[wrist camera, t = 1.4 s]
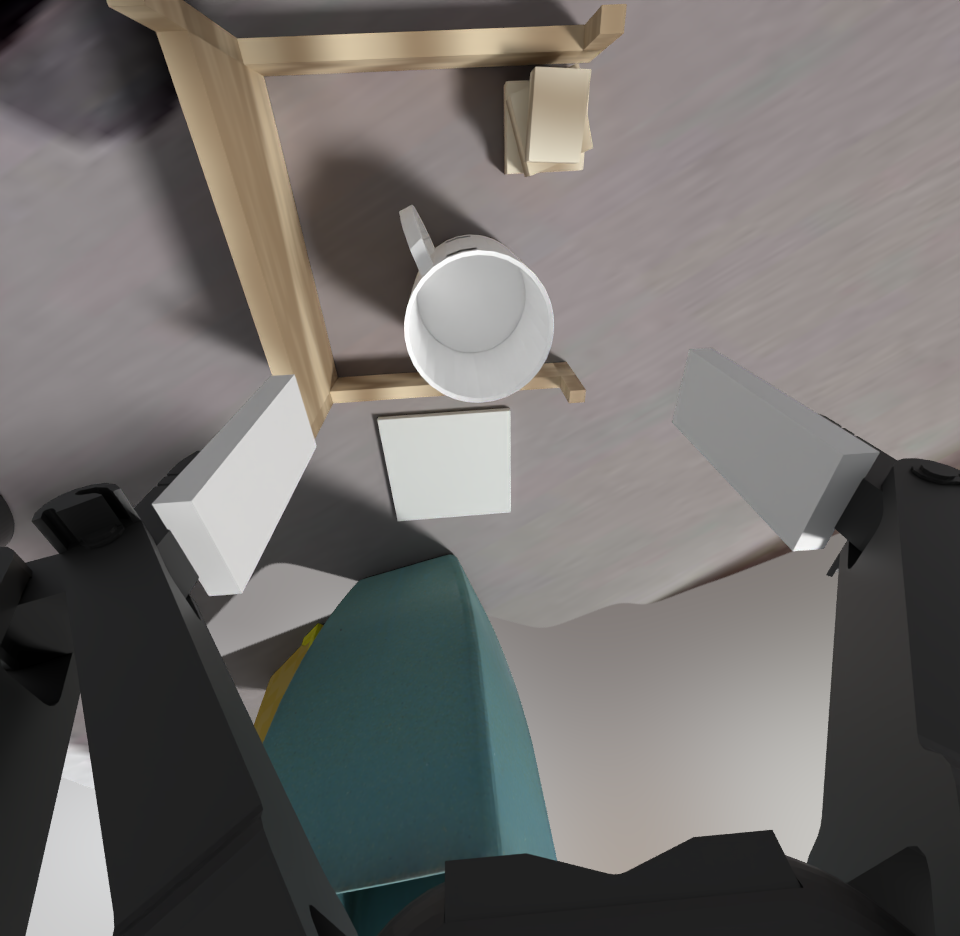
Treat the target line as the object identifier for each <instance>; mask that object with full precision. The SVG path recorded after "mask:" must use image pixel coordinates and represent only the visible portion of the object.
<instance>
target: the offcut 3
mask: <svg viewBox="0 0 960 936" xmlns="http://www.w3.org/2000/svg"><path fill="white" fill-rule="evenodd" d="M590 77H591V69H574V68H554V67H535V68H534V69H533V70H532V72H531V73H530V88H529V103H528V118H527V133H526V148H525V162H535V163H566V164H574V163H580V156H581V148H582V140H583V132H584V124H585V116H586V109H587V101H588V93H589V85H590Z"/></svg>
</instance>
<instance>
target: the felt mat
mask: <svg viewBox="0 0 960 936" xmlns="http://www.w3.org/2000/svg"><path fill="white" fill-rule="evenodd" d="M377 421H378V426H379V431H380V436H381V441H382V446H383V451H384V456H385V461H386V465H387V470H388V475H389V480H390V485H391V490H392V495H393V500H394V505H395V510H396V515H397V520H398V521H407V520H419V519H432V518H444V517H457V516H470V515H482V514H495V513H507V512H511V469H510V408H500V409H486V410H472V411H457V412H443V413H429V414H415V415H401V416H387V417H378V420H377Z"/></svg>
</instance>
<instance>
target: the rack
mask: <svg viewBox="0 0 960 936" xmlns="http://www.w3.org/2000/svg"><path fill="white" fill-rule="evenodd" d="M106 1H107V3H108V6H109V7H110V8H112V9H114V10H116V11H118V12H120V13H122V14H124V15H125V16H127V17H129V18H131V19H133V20H135V21H137V22H139V23H140V24H142V25H144V26H146V27H148V28H150V29H152V30H154V31H155V32H156V33H157V36H158V39H159V42H160V45H161V48H162V51H163V54H164V57H165V60H166V63H167V66H168V69H169V72H170V75H171V78H172V81H173V83H174V86H175V89H176V92H177V95H178V98H179V101H180V104H181V107H182V110H183V113H184V116H185V119H186V122H187V125H188V128H189V131H190V134H191V137H192V140H193V143H194V146H195V149H196V151H197V154H198V157H199V160H200V163H201V166H202V169H203V172H204V175H205V178H206V181H207V184H208V187H209V190H210V193H211V196H212V199H213V202H214V205H215V208H216V211H217V214H218V216H219V219H220V222H221V225H222V228H223V231H224V234H225V237H226V240H227V243H228V246H229V249H230V252H231V255H232V258H233V261H234V264H235V267H236V270H237V273H238V276H239V279H240V282H241V284H242V287H243V290H244V293H245V296H246V299H247V302H248V305H249V308H250V311H251V314H252V317H253V320H254V323H255V326H256V329H257V332H258V335H259V338H260V341H261V344H262V347H263V349H264V352H265V355H266V358H267V361H268V364H269V367H270V370H271V373H272V376H276V375H292V374H295V377H296V381H297V384H298V387H299V390H300V394H301V397H302V400H303V404H304V407H305V410H306V413H307V417H308V420H309V423H310V426H311V430H312V433H313V436H314V439H315V438H316V436H317V434H318V432H319V430H320V428H321V426H322V424H323V422H324V420H325V418H326V416H327V414H328V412H329V410H330V408H331V406H332V404H333V403H344V402H359V401H373V400H387V399H402V398H416V397H430V396H445V395H444V394H442V393H441V392H439V391H438V390H436V389H435V388H433V387H432V386H431V385H430V384H429V383H428V382H427V381H426V380H425V379H424V378H423V377H422V376H421V375H420V374H419V372H411V373H396V374H381V375H366V376H352V377H338V376H337V372H336V368H335V363H334V359H333V355H332V351H331V347H330V343H329V339H328V335H327V331H326V327H325V323H324V319H323V315H322V311H321V307H320V303H319V299H318V294H317V290H316V286H315V282H314V278H313V274H312V270H311V266H310V262H309V258H308V254H307V250H306V246H305V242H304V238H303V234H302V230H301V226H300V221H299V217H298V213H297V209H296V205H295V201H294V197H293V193H292V189H291V185H290V181H289V177H288V173H287V169H286V165H285V161H284V157H283V152H282V148H281V144H280V140H279V136H278V132H277V128H276V124H275V120H274V116H273V112H272V108H271V104H270V100H269V96H268V92H267V88H266V84H265V79H264V76H285V75H308V74H331V73H355V72H378V71H402V70H425V69H449V68H472V67H495V66H519V65H542V64H566V63H589V62H590V61H591V60H593V59H594V58H595V57H596V56H597V55H599V54H600V53H601V52H602V51H603V50H604V49H606V48H607V47H608V46H609V45H610V44H612V43H613V42H614V41H615V40H616V39H617V38H619V37H620V36H621V35H622V34H623V33H624V25H625V16H626V6H627V4H616V5H602V6H601V7H600V8H599V9H598V10H597V11H596V13H595V14H594V15H593V16H592V17H591V18H590V19H589V21H588V22H587V23H586V24H585V25H565V26H539V27H514V28H489V29H464V30H438V31H413V32H388V33H362V34H337V35H312V36H286V37H261V38H236V37H234V36H233V35H232V34H230V33H229V32H227V31H226V30H224V29H223V28H222V27H220V26H219V25H217V24H216V23H215V22H213V21H212V20H210V19H209V18H208V17H206V16H205V15H203V14H202V13H200V12H199V11H198V10H196V9H195V8H193V7H192V6H191V5H189V4H188V3H186V2H185V1H183V0H106ZM545 388H561V390H562V392H563V394H564V395H565V397H566V399H567V401H568V402H569V403H579V402H585V393H586V389H585V388H584V387H583V385H582V384H581V382H580V381H579V379H578V378H577V376H576V375H575V374H574V372H573V371H572V369H571V368H570V366H569V365H568V363H567V362H559V363H544V364H543V366H542V367H541V369H540V371H539V372H538V373H537V374H536V375H535V376H534V378H533V379H532V380H531V381H530V382H529V383H528V384H526V385H525V386H524V387H523V388H521V389H520V390H531V389H545Z"/></svg>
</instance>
